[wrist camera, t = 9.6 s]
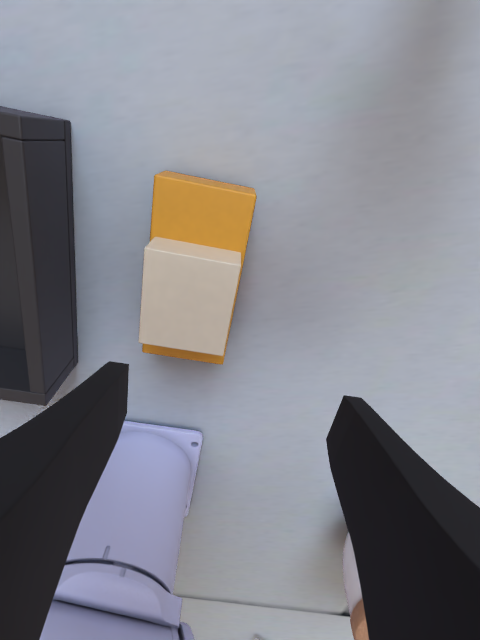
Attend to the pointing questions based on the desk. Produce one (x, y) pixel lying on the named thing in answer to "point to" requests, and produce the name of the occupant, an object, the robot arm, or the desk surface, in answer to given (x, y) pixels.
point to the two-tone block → (193, 265)
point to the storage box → (36, 257)
